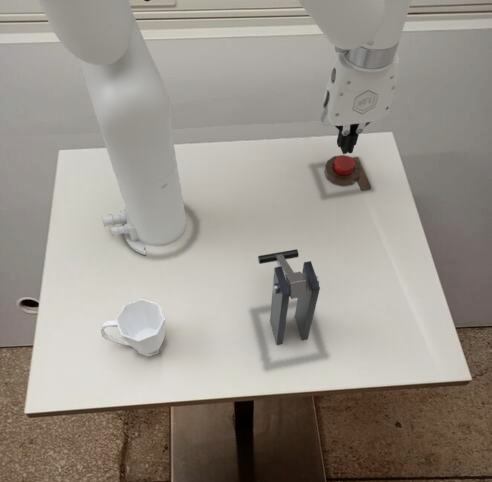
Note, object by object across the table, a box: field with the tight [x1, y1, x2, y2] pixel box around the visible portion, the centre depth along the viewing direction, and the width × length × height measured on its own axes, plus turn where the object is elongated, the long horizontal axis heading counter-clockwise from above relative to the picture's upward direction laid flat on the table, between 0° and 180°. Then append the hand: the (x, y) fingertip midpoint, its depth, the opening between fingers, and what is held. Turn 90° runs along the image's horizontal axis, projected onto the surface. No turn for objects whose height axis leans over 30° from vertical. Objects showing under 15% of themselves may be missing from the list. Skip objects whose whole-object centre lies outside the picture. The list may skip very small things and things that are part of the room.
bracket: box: [269, 260, 321, 346], centre depth 72 cm, size 10×9×16 cm
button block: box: [323, 154, 372, 192], centre depth 93 cm, size 9×8×2 cm
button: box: [332, 154, 355, 177], centre depth 92 cm, size 4×4×2 cm
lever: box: [257, 248, 307, 300], centre depth 70 cm, size 12×6×2 cm, turn 12°
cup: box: [100, 297, 166, 358], centre depth 74 cm, size 7×10×8 cm
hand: (345, 147), depth 88 cm, fingers closed
